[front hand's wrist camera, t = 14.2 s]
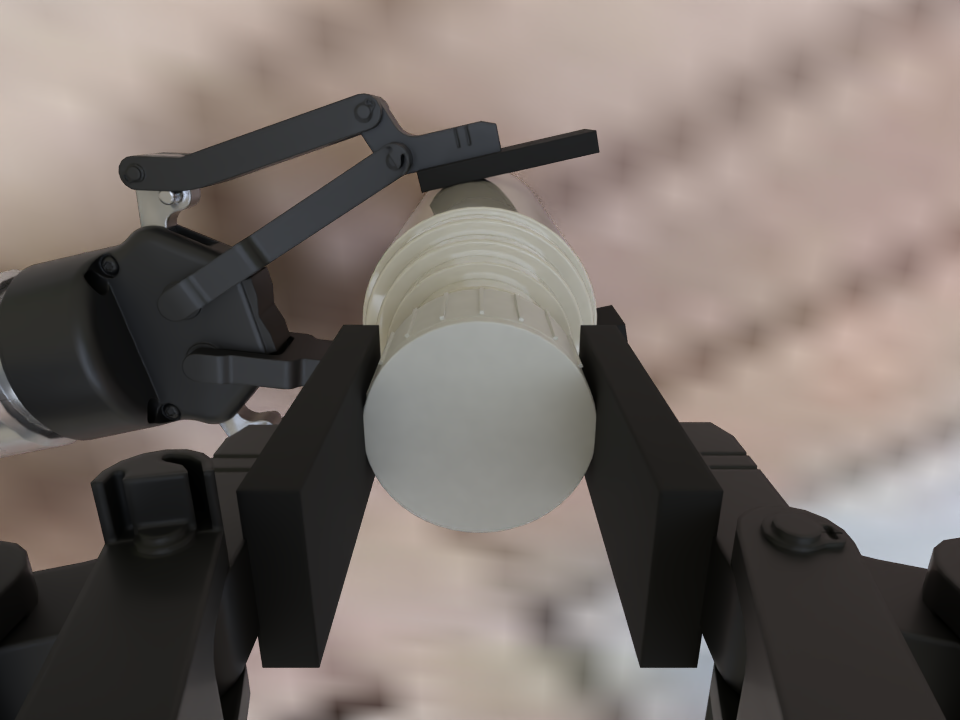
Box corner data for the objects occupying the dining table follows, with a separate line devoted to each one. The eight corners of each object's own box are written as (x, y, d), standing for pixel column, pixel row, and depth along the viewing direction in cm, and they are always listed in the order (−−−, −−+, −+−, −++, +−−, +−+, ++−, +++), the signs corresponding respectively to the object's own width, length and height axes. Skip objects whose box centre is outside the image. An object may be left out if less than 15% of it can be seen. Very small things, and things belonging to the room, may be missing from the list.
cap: (591, 461, 15) (610, 520, 13) (399, 486, 15) (384, 549, 13) (572, 271, 13) (589, 302, 11) (357, 303, 14) (334, 338, 11)
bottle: (431, 312, 33) (364, 589, 14) (397, 183, 31) (259, 297, 12) (557, 284, 33) (671, 531, 13) (532, 151, 31) (623, 214, 11)
